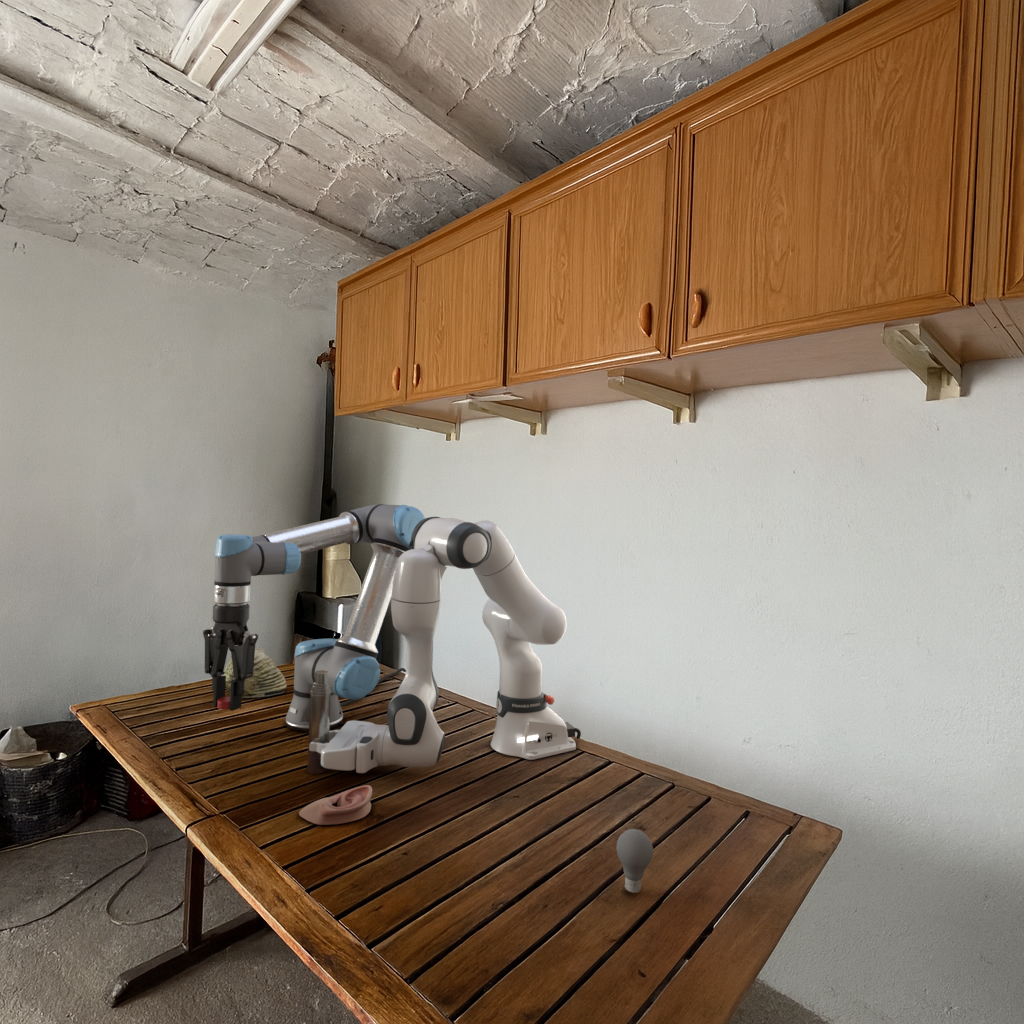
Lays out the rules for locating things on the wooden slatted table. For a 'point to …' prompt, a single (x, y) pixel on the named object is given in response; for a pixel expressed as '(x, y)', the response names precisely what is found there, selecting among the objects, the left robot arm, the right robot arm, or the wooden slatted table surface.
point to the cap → (223, 703)
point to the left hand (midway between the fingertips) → (227, 707)
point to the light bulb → (634, 857)
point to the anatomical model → (339, 807)
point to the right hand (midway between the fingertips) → (314, 740)
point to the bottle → (319, 719)
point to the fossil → (259, 677)
